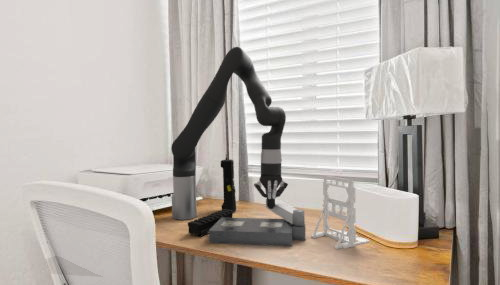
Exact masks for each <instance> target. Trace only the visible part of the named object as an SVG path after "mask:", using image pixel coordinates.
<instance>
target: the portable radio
mask: <svg viewBox="0 0 500 285" xmlns="http://www.w3.org/2000/svg"><path fill="white" fill-rule="evenodd" d="M234 162H235V161H234V160H233V159H228V154H227V153H226V154H225V159H222V160H220V168H222V179H223V180H222V182H223V188H222V190H223V202H222V204H221V211H222V210H223V209H227V210H233V212H236V211H237V203H236V187H235V169H234V168H235V166H234Z"/></svg>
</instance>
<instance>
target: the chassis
mask: <svg viewBox="0 0 500 285" xmlns="http://www.w3.org/2000/svg"><path fill="white" fill-rule="evenodd" d="M294 241H306V224H305V225H303V226H296V225H294V224H291V223H290V222H288V221H286V220H285V219H283V218H262V217H261V218H259V217H232V218H224V217H221V218H220V219H219V220H218V222H217V223H216V224H215V225H214V226H213V227H212V228H211V229H210V230H209V234H208V243H209V244H221V245H222V244H223V245H224V244H225V245H249V246H251V245H252V246H274V247H275V246H278V247H280V246H281V247H293V242H294Z"/></svg>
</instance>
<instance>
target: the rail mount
mask: <svg viewBox="0 0 500 285" xmlns="http://www.w3.org/2000/svg"><path fill="white" fill-rule="evenodd" d="M233 214H234V213H233V210H227V209H223V210H222V209H221V210H218V211H215V212H213V213H211V214H207V215H205V216H202V217H199V218H197V219H196V218H195V219H194V220H191V221H188V222H187V226H188V234H190V236H194V235H200V238H203V237H206V236H209V230H210V229H211V228H212V227H213V226H214V225H215V224H216V223H217V222H218V220H219V219H220V218H221V217H224V218H233Z"/></svg>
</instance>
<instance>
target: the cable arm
mask: <svg viewBox="0 0 500 285" xmlns="http://www.w3.org/2000/svg"><path fill="white" fill-rule="evenodd" d="M265 208H266V209H268V210H269V211H270V212H272V213H273V214H275V215H276V216H278V217H279V218H281V219H285V220H286V221H288V222H290V223H291V224H294V225H296V226H303V225H305V226H306V221H305V220H306V218H305V210H304V209H298V208H296V207H293V206H292V205H289V204H288V203H286V202H284V201H282V200H280V199H277V197H276V198H275V207H274V208H273V209H269V208H268V207H267V198H266V199H265Z"/></svg>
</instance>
